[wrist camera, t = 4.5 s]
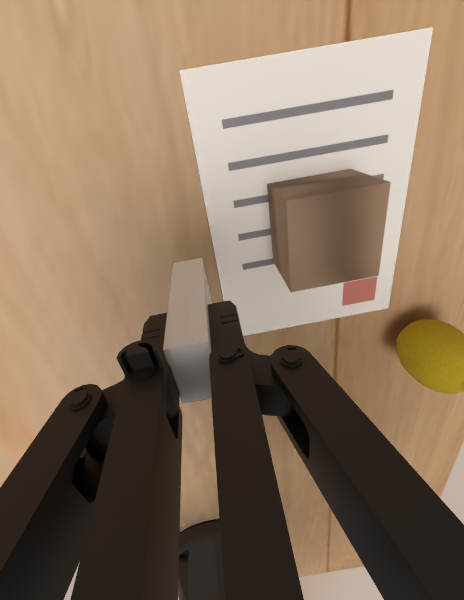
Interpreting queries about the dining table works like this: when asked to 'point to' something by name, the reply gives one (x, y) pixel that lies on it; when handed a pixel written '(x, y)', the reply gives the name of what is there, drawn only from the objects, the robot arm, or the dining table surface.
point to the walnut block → (327, 227)
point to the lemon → (433, 354)
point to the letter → (302, 159)
